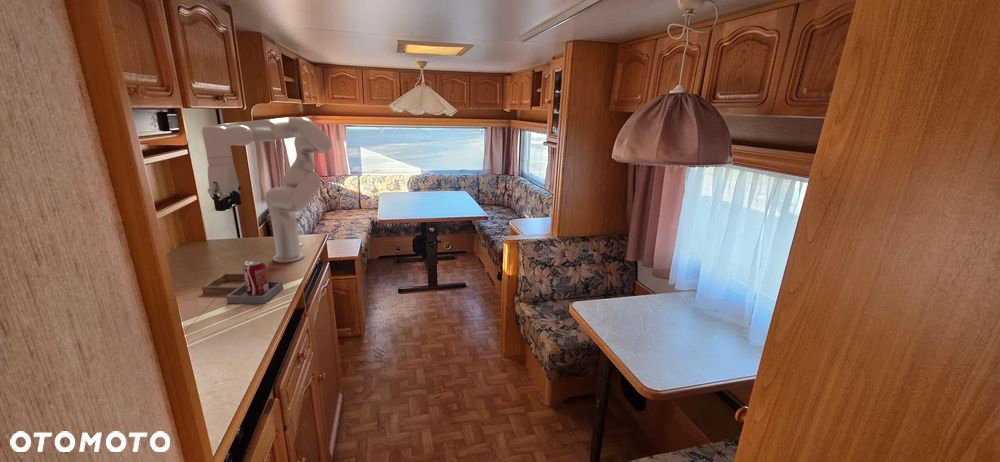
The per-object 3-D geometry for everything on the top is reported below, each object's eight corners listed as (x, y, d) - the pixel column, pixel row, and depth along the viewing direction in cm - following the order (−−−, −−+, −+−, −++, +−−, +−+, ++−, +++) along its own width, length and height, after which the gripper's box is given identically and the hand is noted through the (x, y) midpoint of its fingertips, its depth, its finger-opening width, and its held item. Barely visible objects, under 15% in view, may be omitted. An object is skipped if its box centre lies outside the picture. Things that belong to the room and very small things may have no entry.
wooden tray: (225, 279, 156) (224, 273, 156) (258, 279, 157) (257, 273, 156) (203, 293, 144) (201, 287, 144) (239, 294, 145) (237, 287, 144)
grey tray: (248, 288, 149) (247, 281, 148) (283, 288, 149) (282, 281, 148) (227, 304, 137) (226, 296, 136) (265, 304, 137) (263, 296, 136)
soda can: (273, 289, 147) (268, 259, 143) (260, 298, 141) (255, 266, 137) (256, 288, 148) (251, 258, 144) (243, 296, 141) (237, 265, 138)
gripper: (225, 158, 153) (233, 202, 158) (192, 164, 136) (202, 213, 141) (245, 158, 153) (252, 202, 158) (215, 164, 137) (224, 213, 142)
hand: (229, 207), depth 150 cm, fingers open, 9 cm apart
